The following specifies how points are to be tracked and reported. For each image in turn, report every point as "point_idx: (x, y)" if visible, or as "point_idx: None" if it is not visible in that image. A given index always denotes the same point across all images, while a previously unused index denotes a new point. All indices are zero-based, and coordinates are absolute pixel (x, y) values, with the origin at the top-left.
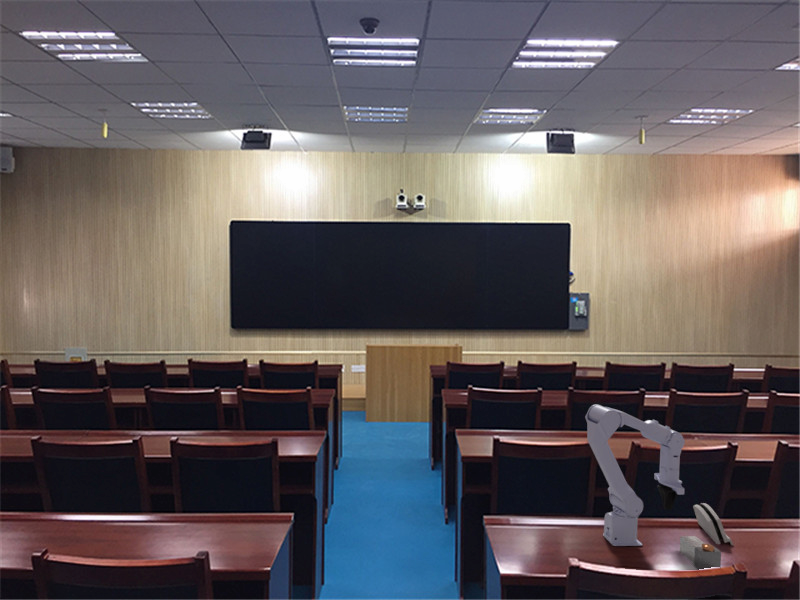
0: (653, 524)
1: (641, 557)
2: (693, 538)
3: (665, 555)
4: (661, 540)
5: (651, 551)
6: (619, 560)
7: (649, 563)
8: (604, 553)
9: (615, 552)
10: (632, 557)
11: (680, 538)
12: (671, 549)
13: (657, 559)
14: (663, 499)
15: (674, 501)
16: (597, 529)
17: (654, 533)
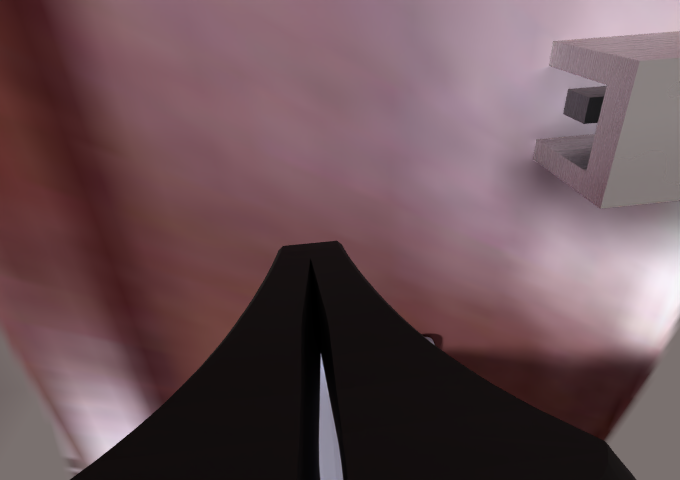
0: (30, 141)
1: (544, 370)
2: (673, 110)
3: (551, 260)
4: (349, 202)
5: (493, 311)
6: None
7: (606, 357)
8: None
9: None
10: (536, 400)
11: (592, 200)
12: (486, 194)
13: (581, 313)
14: (316, 436)
15: (384, 300)
16: None
17: (230, 204)
